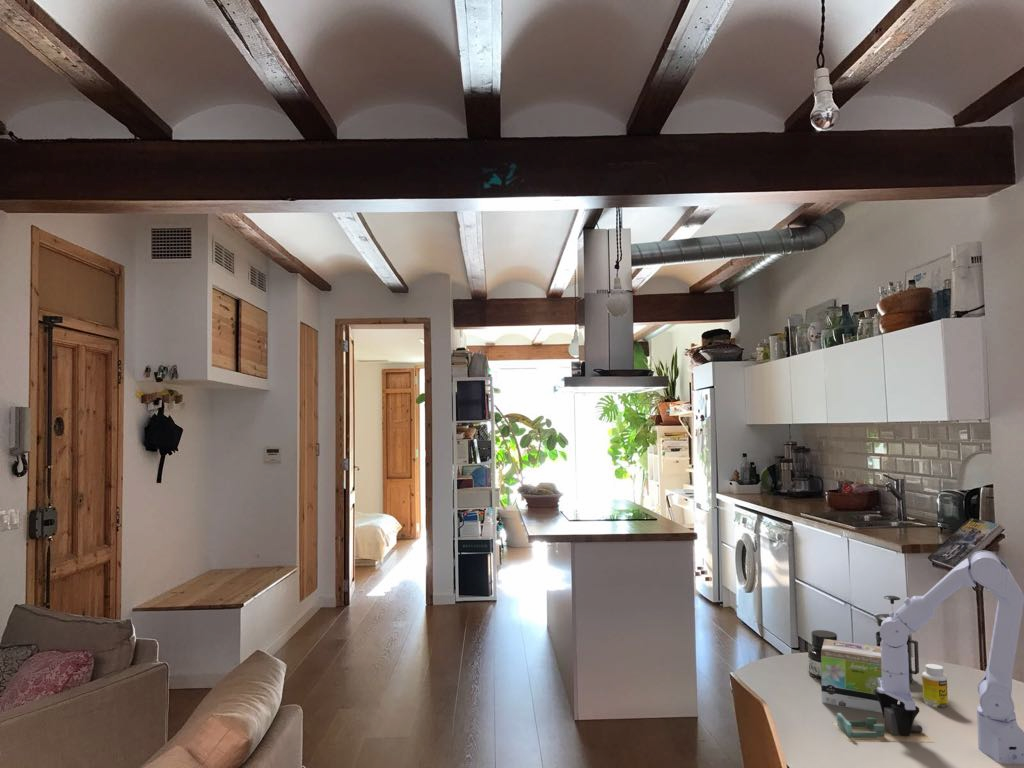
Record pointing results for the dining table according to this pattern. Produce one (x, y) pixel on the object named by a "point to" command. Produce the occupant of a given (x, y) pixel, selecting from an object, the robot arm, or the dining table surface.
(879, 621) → the french press
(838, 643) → the tea box
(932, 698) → the supplement bottle
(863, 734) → the board
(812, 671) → the black pill bottle
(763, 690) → the dining table surface
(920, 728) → the block
